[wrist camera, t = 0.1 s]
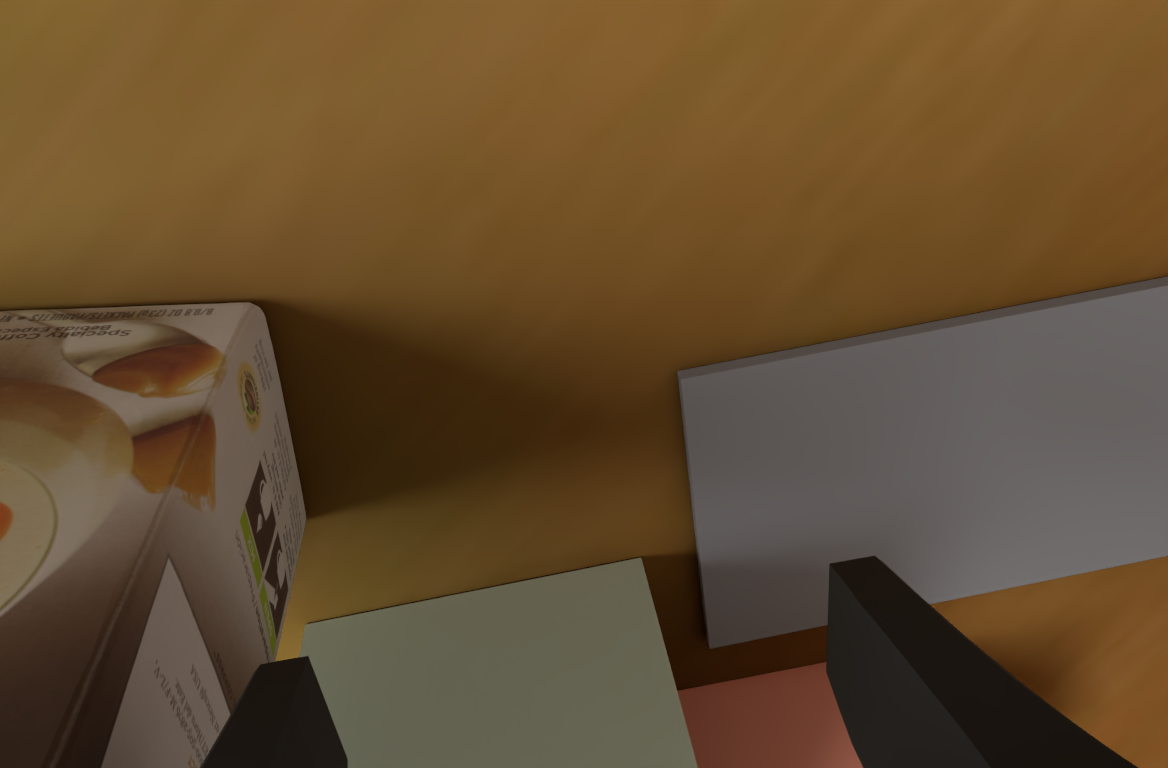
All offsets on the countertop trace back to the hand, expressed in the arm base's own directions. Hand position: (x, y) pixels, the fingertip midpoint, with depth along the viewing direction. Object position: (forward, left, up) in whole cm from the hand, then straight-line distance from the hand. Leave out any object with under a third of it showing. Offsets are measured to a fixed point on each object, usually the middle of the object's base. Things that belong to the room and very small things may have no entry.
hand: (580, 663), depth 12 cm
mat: (-7, -12, -10) cm, 17 cm away
